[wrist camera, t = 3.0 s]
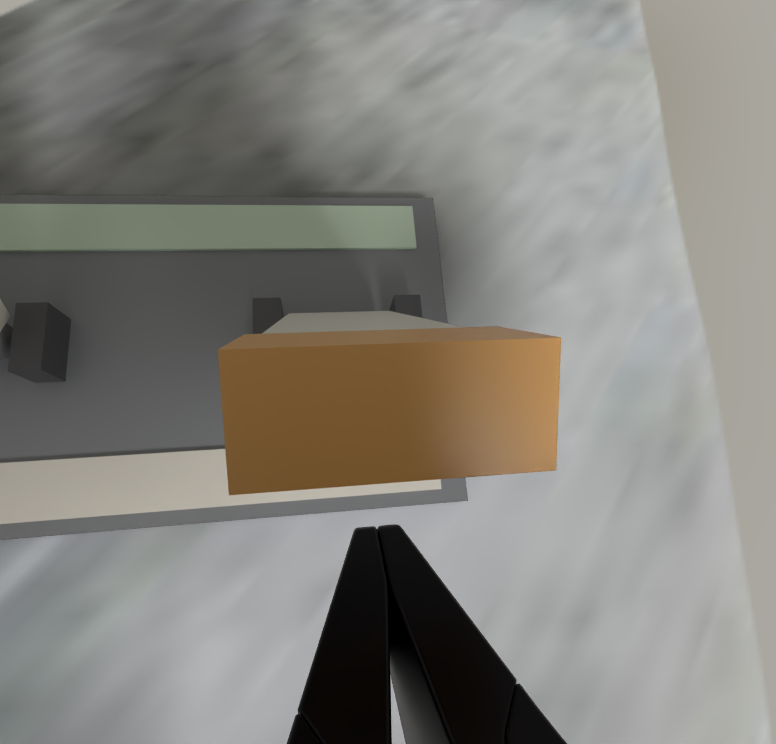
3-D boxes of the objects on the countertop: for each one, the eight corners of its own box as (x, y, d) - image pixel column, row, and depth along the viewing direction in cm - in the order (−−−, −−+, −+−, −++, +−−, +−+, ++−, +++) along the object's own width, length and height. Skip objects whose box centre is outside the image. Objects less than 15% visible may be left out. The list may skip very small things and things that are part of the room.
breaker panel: (462, 500, 19) (481, 500, 17) (-188, 555, 16) (-275, 564, 14) (429, 208, 22) (441, 174, 20) (-117, 205, 19) (-176, 165, 17)
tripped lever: (388, 348, 19) (556, 470, 6) (289, 351, 19) (228, 495, 5) (387, 307, 19) (560, 337, 6) (287, 309, 18) (217, 348, 5)
